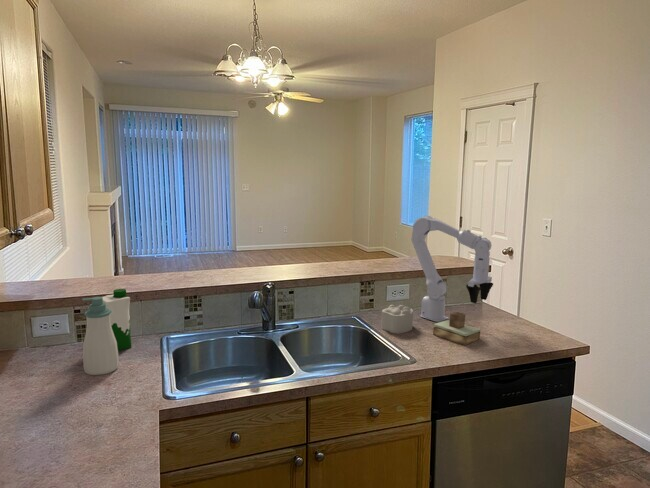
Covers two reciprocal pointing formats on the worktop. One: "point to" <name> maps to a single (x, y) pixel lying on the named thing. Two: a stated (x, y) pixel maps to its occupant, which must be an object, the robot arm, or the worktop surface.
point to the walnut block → (457, 320)
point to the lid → (462, 331)
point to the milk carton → (120, 317)
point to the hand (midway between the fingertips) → (478, 301)
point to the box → (456, 336)
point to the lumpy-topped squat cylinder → (397, 319)
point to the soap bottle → (99, 340)
